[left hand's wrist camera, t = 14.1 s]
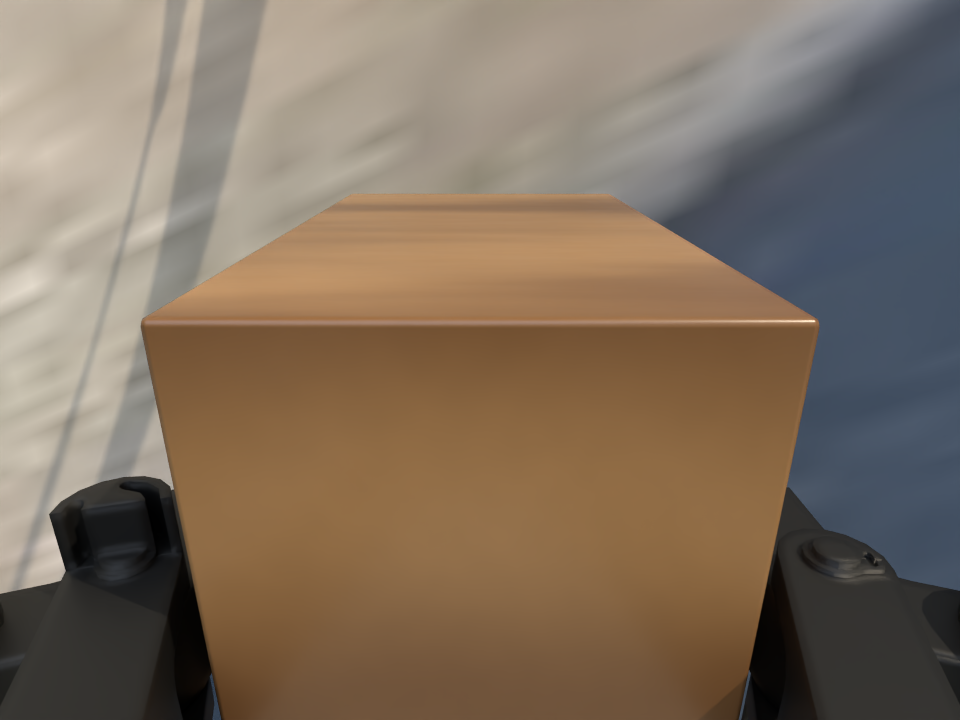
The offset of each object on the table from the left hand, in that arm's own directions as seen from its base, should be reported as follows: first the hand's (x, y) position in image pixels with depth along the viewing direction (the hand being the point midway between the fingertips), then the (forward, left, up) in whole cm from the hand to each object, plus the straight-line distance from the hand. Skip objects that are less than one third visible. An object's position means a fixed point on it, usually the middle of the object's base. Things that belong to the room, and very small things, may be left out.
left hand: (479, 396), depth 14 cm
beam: (+11, +34, -1) cm, 36 cm away
